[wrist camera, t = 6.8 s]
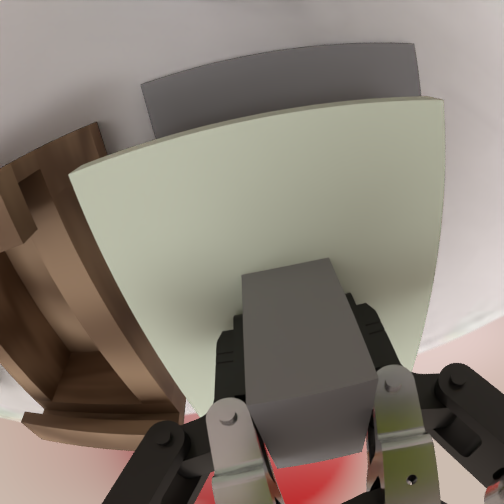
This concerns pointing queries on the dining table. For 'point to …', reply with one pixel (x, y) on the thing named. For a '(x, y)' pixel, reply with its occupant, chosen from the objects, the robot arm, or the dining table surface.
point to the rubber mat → (280, 83)
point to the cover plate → (279, 254)
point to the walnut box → (72, 311)
